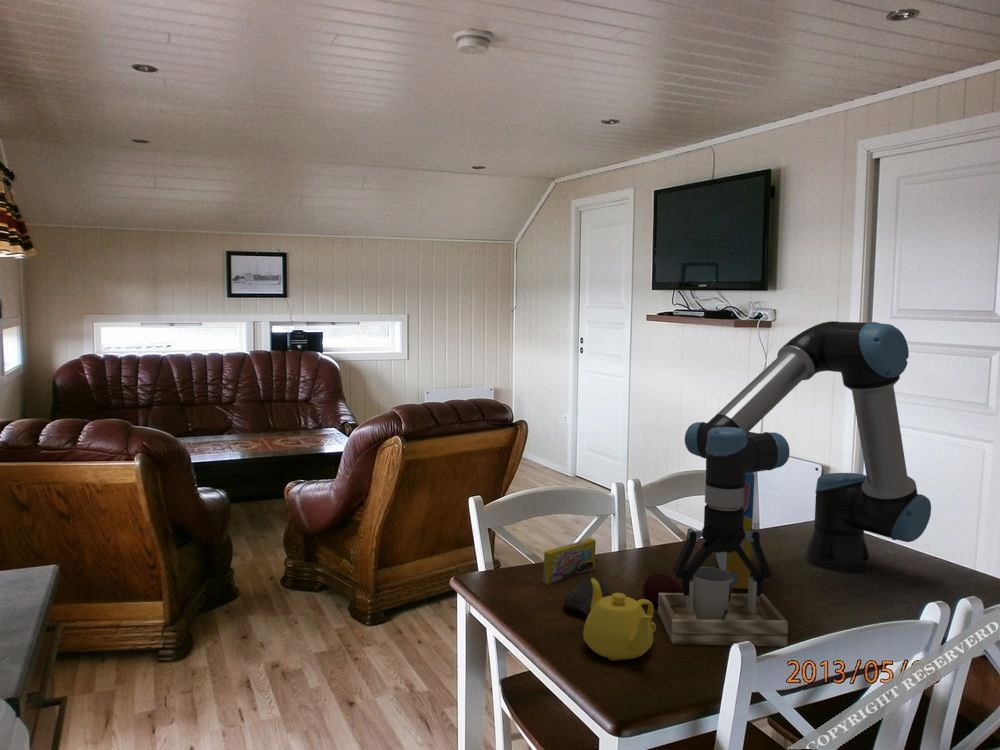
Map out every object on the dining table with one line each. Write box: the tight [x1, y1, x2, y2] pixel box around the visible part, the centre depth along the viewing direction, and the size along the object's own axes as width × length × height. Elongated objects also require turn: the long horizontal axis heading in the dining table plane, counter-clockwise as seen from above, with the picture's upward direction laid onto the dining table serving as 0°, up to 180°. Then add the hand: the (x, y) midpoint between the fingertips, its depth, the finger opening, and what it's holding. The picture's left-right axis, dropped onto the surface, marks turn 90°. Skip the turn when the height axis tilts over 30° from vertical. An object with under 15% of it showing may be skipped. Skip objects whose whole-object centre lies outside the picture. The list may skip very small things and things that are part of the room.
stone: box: [563, 578, 612, 618], centre depth 158 cm, size 10×8×10 cm
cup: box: [691, 566, 733, 620], centre depth 150 cm, size 8×8×10 cm
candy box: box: [542, 537, 597, 586], centre depth 178 cm, size 16×2×8 cm, turn 131°
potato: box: [642, 572, 682, 606], centre depth 163 cm, size 7×8×7 cm
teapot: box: [582, 577, 657, 662], centre depth 141 cm, size 20×15×12 cm
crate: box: [657, 593, 789, 647], centre depth 150 cm, size 22×14×5 cm, turn 89°
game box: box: [715, 472, 755, 590], centre depth 181 cm, size 21×6×27 cm, turn 170°
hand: (720, 610), depth 150 cm, fingers open, 12 cm apart
